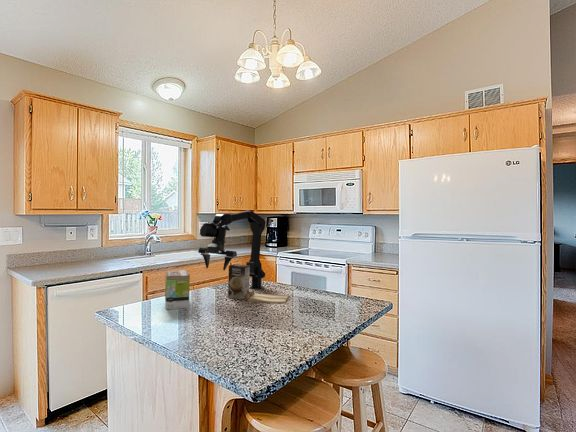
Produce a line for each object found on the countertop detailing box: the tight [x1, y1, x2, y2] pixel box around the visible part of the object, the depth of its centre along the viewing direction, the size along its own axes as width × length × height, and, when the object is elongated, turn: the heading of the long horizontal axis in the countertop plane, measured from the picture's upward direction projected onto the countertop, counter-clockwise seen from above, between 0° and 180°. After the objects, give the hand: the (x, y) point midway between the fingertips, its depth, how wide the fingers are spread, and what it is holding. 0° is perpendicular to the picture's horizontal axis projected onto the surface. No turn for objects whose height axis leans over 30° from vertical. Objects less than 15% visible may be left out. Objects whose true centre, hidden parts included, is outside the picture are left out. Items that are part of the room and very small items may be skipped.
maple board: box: [247, 293, 289, 304], centre depth 163 cm, size 13×18×1 cm
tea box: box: [164, 269, 191, 310], centre depth 151 cm, size 15×10×15 cm
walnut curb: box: [244, 289, 255, 302], centre depth 165 cm, size 14×1×2 cm, turn 172°
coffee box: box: [227, 263, 250, 300], centre depth 166 cm, size 9×6×16 cm
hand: (215, 269), depth 166 cm, fingers open, 9 cm apart
